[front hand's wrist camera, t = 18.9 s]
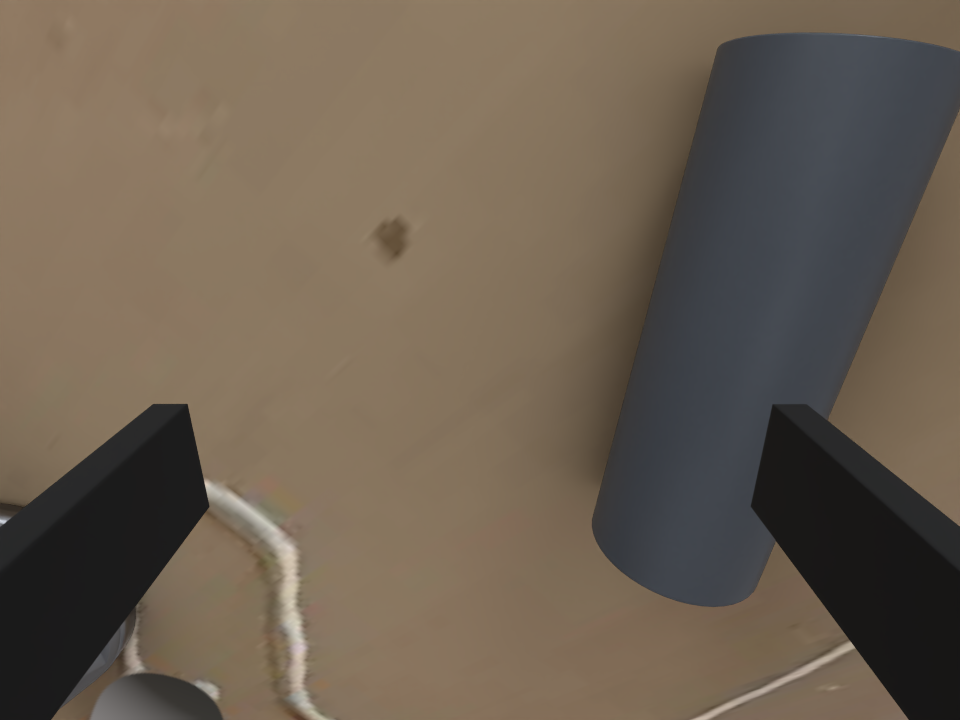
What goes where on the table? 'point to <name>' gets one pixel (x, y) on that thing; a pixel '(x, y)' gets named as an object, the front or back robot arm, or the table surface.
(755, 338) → the rod
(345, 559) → the table surface
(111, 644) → the front robot arm
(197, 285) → the table surface
